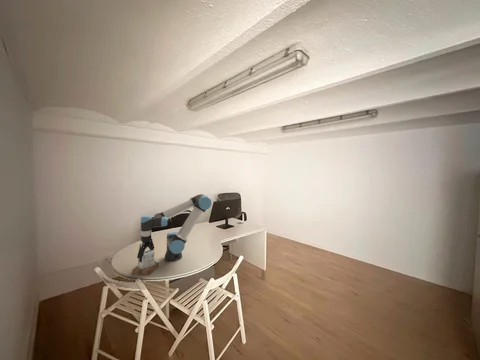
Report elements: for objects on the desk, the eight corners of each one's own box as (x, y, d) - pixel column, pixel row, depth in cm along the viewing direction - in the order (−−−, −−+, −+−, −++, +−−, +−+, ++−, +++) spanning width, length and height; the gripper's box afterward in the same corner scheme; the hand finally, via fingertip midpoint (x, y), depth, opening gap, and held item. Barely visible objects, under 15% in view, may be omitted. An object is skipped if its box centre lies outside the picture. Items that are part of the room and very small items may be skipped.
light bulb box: (150, 262, 163) (150, 249, 163) (154, 264, 159) (154, 251, 158) (137, 266, 155) (137, 253, 154) (141, 269, 150) (141, 255, 150)
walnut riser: (159, 265, 163) (159, 262, 163) (149, 274, 149) (149, 270, 149) (143, 264, 165) (143, 261, 164) (132, 273, 151) (132, 269, 150)
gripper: (150, 230, 169) (150, 254, 169) (131, 240, 144) (131, 269, 145) (158, 230, 168) (158, 255, 169) (141, 241, 143) (141, 269, 144)
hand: (146, 261), depth 157 cm, fingers open, 13 cm apart
